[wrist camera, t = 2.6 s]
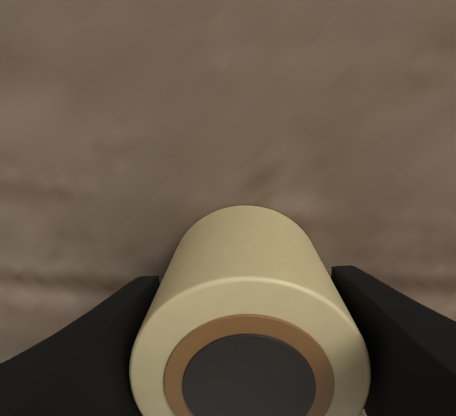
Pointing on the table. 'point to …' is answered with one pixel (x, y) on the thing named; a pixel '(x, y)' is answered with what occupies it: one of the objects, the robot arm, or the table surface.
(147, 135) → the table surface
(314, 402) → the tape roll
